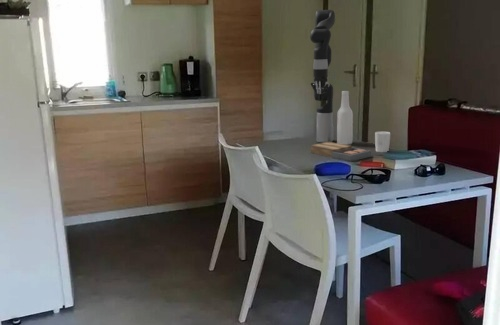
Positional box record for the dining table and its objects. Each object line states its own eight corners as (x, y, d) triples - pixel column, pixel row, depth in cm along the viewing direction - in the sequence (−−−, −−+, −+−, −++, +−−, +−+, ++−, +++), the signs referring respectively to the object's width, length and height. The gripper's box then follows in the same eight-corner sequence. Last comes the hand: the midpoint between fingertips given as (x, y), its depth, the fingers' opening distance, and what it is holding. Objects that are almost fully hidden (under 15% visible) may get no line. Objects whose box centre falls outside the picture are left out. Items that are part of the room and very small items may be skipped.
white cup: (372, 152, 272) (373, 133, 270) (376, 149, 279) (377, 131, 276) (387, 153, 268) (388, 134, 266) (391, 150, 275) (391, 131, 273)
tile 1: (358, 152, 258) (358, 157, 259) (350, 150, 262) (350, 155, 263) (351, 153, 255) (351, 158, 256) (343, 152, 259) (343, 157, 260)
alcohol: (333, 143, 298) (334, 91, 292) (346, 141, 302) (347, 90, 295) (342, 145, 291) (343, 92, 284) (355, 144, 294) (356, 91, 287)
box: (352, 152, 271) (353, 147, 271) (371, 156, 262) (371, 150, 261) (331, 157, 262) (331, 152, 261) (350, 161, 253) (350, 155, 252)
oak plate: (329, 148, 283) (329, 141, 282) (351, 153, 271) (351, 145, 270) (310, 152, 275) (310, 145, 274) (333, 157, 262) (333, 149, 261)
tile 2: (366, 150, 262) (366, 155, 263) (358, 149, 266) (358, 153, 266) (360, 151, 259) (360, 156, 259) (352, 150, 263) (352, 155, 263)
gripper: (334, 67, 270) (334, 101, 274) (316, 67, 280) (316, 99, 284) (324, 68, 265) (324, 102, 269) (306, 68, 275) (306, 100, 280)
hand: (320, 100), depth 277 cm, fingers closed
